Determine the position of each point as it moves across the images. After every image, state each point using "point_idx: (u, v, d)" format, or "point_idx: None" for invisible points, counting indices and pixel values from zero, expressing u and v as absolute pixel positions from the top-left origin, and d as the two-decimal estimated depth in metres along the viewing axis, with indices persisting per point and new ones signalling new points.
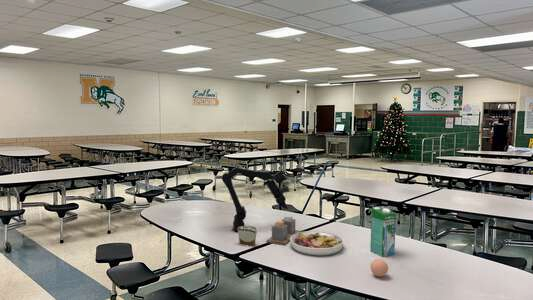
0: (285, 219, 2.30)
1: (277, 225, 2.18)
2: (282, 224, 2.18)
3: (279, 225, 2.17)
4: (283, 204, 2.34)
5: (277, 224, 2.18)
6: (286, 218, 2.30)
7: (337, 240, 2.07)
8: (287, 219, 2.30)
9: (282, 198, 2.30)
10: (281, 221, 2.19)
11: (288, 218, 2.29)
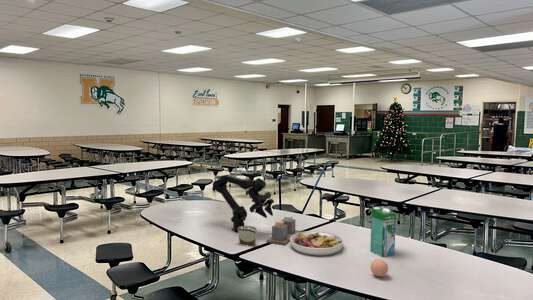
0: (285, 219, 2.30)
1: (277, 225, 2.18)
2: (282, 224, 2.18)
3: (279, 225, 2.17)
4: (261, 212, 2.22)
5: (277, 224, 2.18)
6: (286, 218, 2.30)
7: (337, 240, 2.07)
8: (287, 219, 2.30)
9: (253, 206, 2.18)
10: (281, 221, 2.19)
11: (288, 218, 2.29)
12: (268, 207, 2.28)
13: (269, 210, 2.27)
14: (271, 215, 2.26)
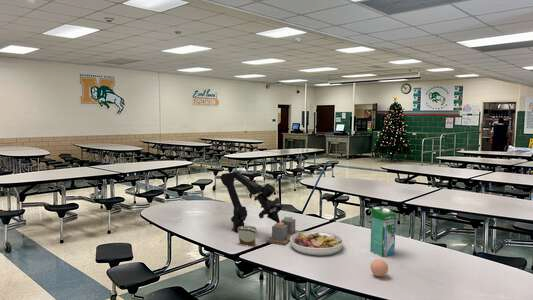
0: (285, 219, 2.30)
1: (277, 226, 2.18)
2: (282, 225, 2.18)
3: (279, 226, 2.17)
4: (273, 217, 2.20)
5: (277, 225, 2.18)
6: (286, 218, 2.30)
7: (337, 240, 2.07)
8: (287, 219, 2.30)
9: (262, 212, 2.14)
10: (281, 222, 2.20)
11: (288, 218, 2.29)
12: None
13: None
14: None
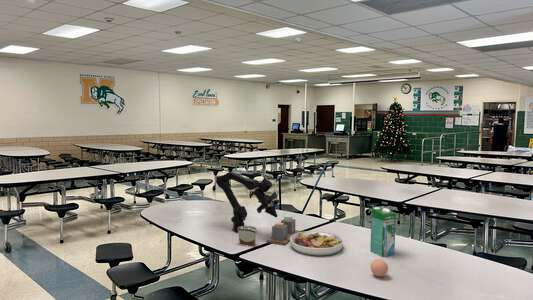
0: (285, 219, 2.30)
1: None
2: (282, 226, 2.18)
3: None
4: (271, 212, 2.23)
5: (277, 226, 2.18)
6: (286, 218, 2.30)
7: (337, 240, 2.07)
8: (287, 219, 2.30)
9: (261, 207, 2.17)
10: (281, 223, 2.20)
11: (288, 218, 2.29)
12: None
13: None
14: (275, 216, 2.23)
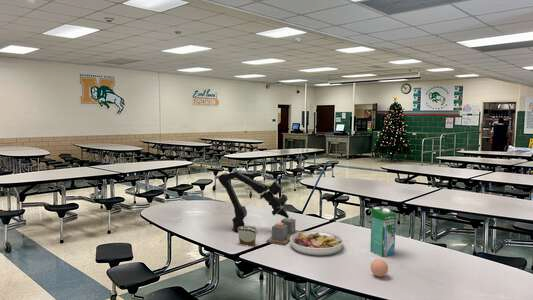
0: None
1: None
2: (282, 226, 2.18)
3: None
4: (283, 213, 2.30)
5: (277, 226, 2.18)
6: (286, 220, 2.30)
7: (337, 240, 2.07)
8: None
9: (277, 209, 2.23)
10: (281, 223, 2.20)
11: (288, 220, 2.29)
12: None
13: None
14: None
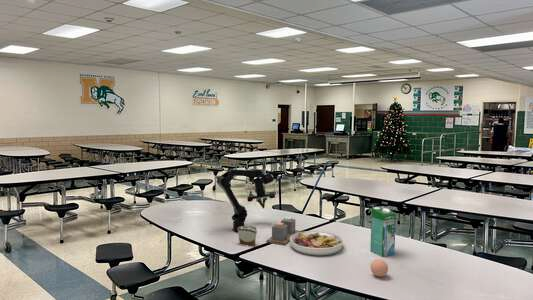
0: None
1: None
2: (282, 226, 2.18)
3: None
4: (264, 202, 2.48)
5: (277, 226, 2.18)
6: (286, 220, 2.30)
7: (337, 240, 2.07)
8: None
9: None
10: (281, 223, 2.20)
11: (288, 220, 2.29)
12: (261, 200, 2.49)
13: (262, 203, 2.49)
14: (263, 207, 2.49)
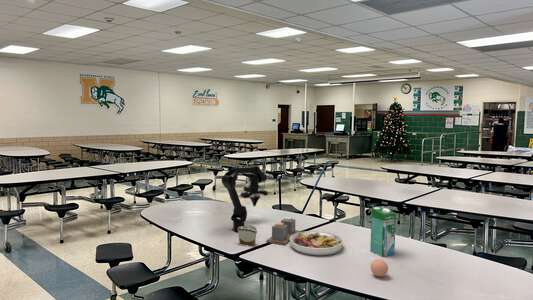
0: None
1: None
2: (282, 226, 2.18)
3: None
4: None
5: (277, 226, 2.18)
6: (286, 220, 2.30)
7: (337, 240, 2.07)
8: None
9: None
10: (281, 223, 2.20)
11: (288, 220, 2.29)
12: None
13: None
14: (254, 205, 2.51)
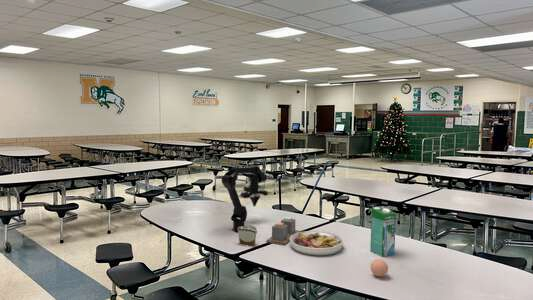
0: None
1: None
2: (282, 226, 2.18)
3: None
4: None
5: (277, 226, 2.18)
6: (286, 220, 2.30)
7: (337, 240, 2.07)
8: None
9: None
10: (281, 223, 2.20)
11: (288, 220, 2.29)
12: None
13: None
14: (254, 205, 2.51)
